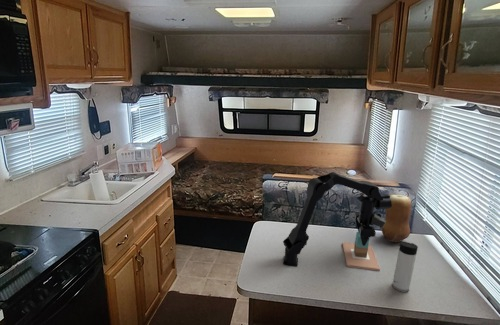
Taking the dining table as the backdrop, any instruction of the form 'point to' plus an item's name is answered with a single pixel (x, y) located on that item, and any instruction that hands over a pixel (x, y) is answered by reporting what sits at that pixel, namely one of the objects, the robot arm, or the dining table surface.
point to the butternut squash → (397, 219)
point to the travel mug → (404, 266)
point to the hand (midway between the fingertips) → (362, 240)
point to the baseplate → (360, 258)
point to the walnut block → (360, 251)
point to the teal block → (359, 242)
